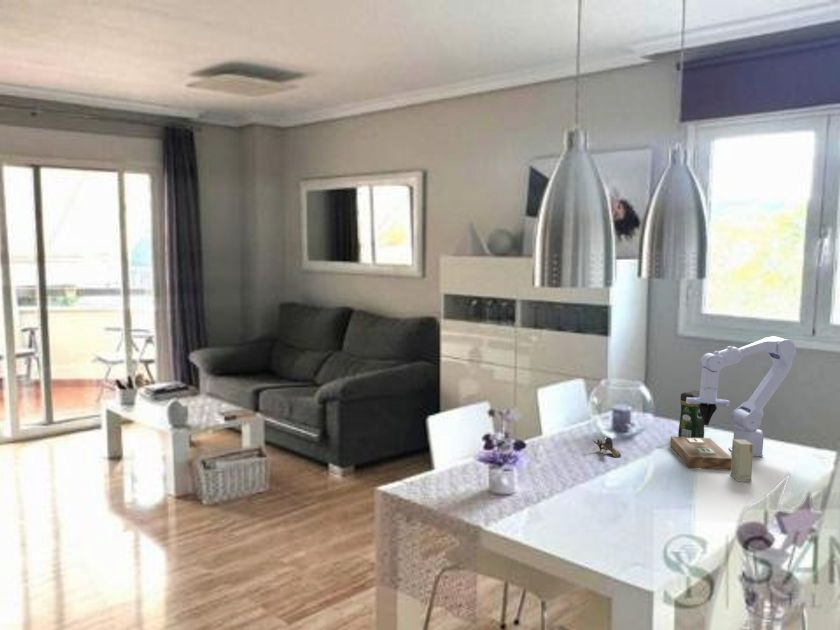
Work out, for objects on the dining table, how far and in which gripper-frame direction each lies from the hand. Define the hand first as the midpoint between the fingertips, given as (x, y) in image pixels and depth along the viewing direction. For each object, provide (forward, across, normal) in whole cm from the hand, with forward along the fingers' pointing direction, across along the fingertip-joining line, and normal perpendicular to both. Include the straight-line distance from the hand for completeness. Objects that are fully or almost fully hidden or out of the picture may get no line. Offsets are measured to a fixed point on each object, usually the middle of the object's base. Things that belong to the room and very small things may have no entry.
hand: (705, 424), depth 253 cm
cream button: (+9, -3, -1) cm, 10 cm away
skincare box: (+11, +4, -27) cm, 29 cm away
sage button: (+9, -3, -13) cm, 16 cm away
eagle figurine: (+12, -35, -8) cm, 38 cm away
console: (+10, -3, -7) cm, 13 cm away
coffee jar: (+11, +1, +18) cm, 21 cm away
